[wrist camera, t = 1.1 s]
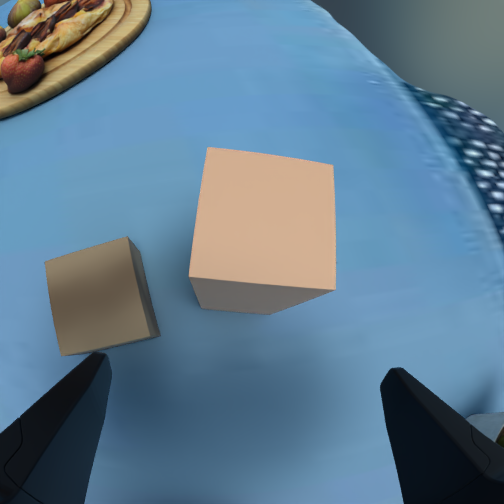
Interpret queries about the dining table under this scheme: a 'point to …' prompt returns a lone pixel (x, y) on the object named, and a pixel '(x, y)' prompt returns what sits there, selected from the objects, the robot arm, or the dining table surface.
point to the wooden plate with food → (61, 45)
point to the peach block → (263, 232)
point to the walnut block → (100, 298)
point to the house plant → (489, 425)
